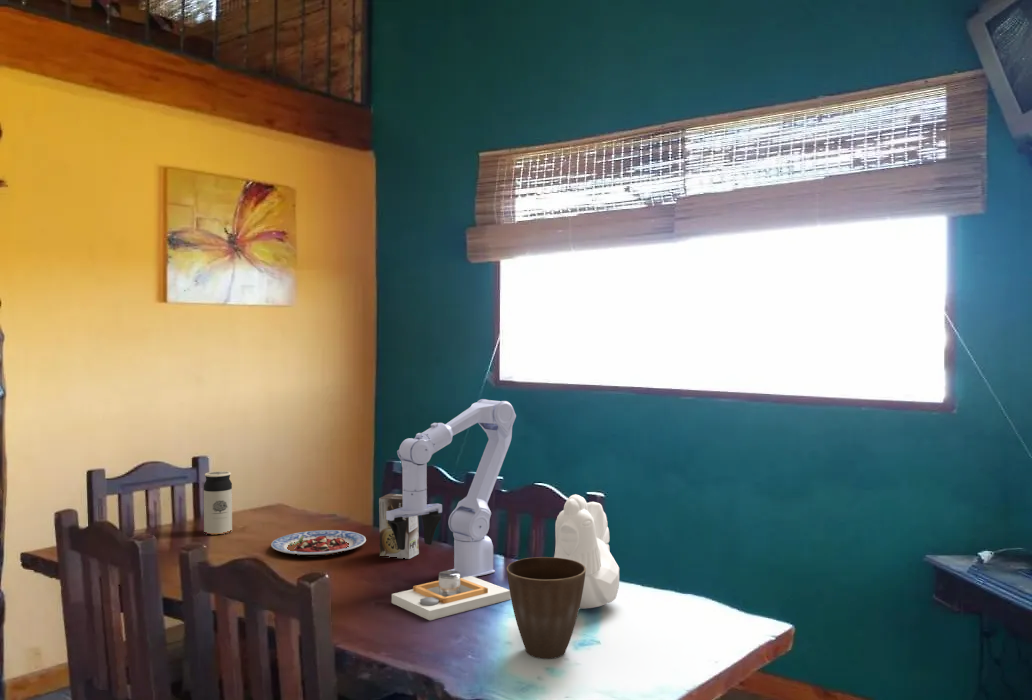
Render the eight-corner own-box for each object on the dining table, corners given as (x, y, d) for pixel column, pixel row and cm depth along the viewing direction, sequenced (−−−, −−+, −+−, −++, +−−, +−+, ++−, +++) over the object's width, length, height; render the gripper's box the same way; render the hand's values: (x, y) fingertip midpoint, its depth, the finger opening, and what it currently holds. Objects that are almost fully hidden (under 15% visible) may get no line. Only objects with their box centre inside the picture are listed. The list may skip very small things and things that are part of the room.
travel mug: (205, 530, 257) (205, 471, 256) (233, 529, 259) (232, 470, 258) (202, 536, 249) (202, 475, 249) (230, 535, 251) (230, 474, 250)
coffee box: (419, 553, 230) (419, 494, 229) (409, 559, 224) (409, 499, 223) (389, 551, 233) (389, 492, 232) (378, 556, 227) (378, 497, 226)
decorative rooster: (592, 623, 174) (592, 504, 174) (529, 609, 184) (530, 495, 183) (648, 593, 194) (648, 486, 194) (589, 581, 204) (590, 479, 203)
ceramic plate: (385, 545, 240) (385, 534, 240) (318, 566, 218) (318, 555, 218) (320, 533, 254) (320, 523, 254) (251, 552, 232) (251, 541, 232)
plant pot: (595, 663, 153) (596, 576, 153) (515, 670, 150) (515, 581, 150) (573, 635, 168) (573, 555, 167) (499, 640, 165) (499, 559, 164)
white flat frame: (470, 584, 202) (470, 571, 202) (510, 599, 190) (510, 586, 190) (391, 602, 188) (391, 589, 188) (429, 620, 176) (429, 606, 176)
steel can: (448, 595, 193) (448, 569, 193) (464, 599, 190) (464, 572, 190) (434, 601, 189) (434, 574, 189) (450, 605, 186) (450, 577, 186)
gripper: (430, 483, 208) (430, 538, 208) (379, 490, 198) (379, 548, 199) (447, 487, 202) (447, 543, 203) (395, 494, 193) (395, 554, 193)
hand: (414, 546), depth 200 cm, fingers open, 7 cm apart
